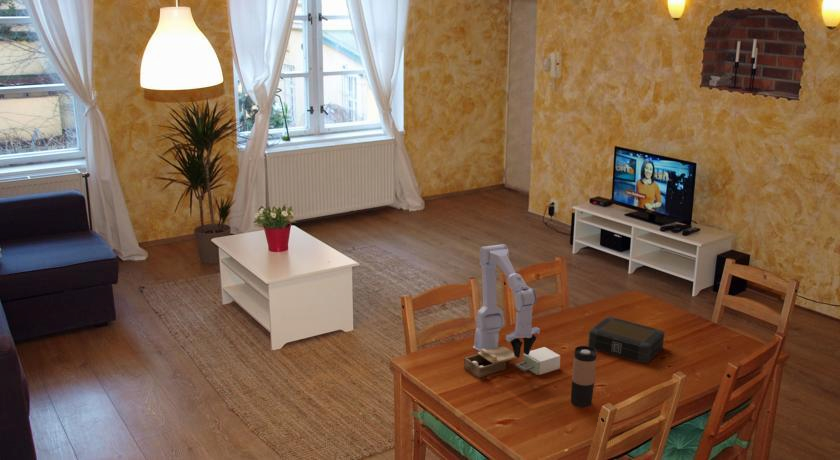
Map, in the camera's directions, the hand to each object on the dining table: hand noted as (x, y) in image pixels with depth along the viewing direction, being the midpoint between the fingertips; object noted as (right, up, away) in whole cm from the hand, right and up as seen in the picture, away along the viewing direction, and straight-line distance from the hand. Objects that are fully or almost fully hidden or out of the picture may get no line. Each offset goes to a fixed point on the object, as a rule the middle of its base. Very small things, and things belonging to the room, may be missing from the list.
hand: (521, 355), depth 301 cm
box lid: (-8, -1, +8) cm, 11 cm away
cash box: (+45, -2, +29) cm, 54 cm away
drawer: (+6, -7, +6) cm, 11 cm away
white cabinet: (+8, -7, +8) cm, 13 cm away
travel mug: (+19, -14, -16) cm, 28 cm away
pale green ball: (-15, -7, +3) cm, 17 cm away
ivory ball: (-17, -6, +6) cm, 19 cm away
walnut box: (-13, -7, +6) cm, 16 cm away
